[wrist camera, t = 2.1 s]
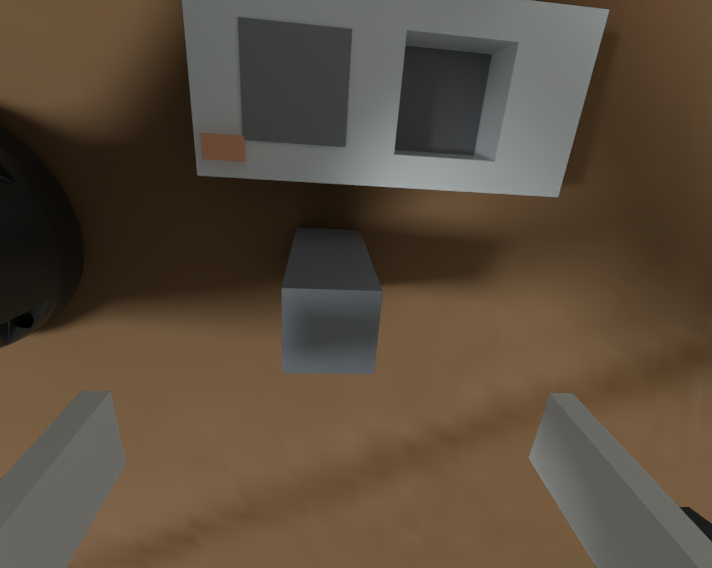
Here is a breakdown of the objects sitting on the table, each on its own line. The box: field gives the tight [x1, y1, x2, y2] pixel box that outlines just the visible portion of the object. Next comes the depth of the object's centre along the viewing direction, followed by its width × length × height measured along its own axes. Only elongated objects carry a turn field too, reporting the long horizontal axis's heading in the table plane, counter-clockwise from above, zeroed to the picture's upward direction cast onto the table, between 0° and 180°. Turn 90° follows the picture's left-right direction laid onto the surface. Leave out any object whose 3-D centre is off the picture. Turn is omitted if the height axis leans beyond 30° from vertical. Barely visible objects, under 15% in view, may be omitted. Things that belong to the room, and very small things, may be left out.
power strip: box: [182, 0, 609, 197], centre depth 20 cm, size 20×9×4 cm, turn 86°
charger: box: [282, 227, 383, 374], centre depth 21 cm, size 4×4×10 cm
